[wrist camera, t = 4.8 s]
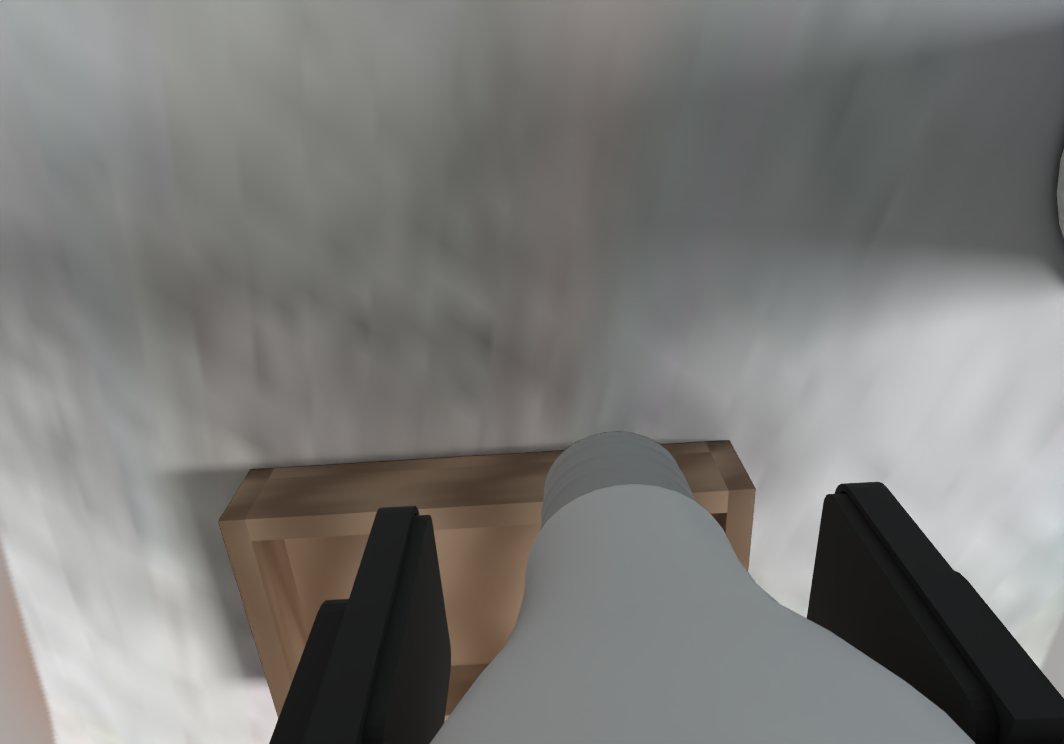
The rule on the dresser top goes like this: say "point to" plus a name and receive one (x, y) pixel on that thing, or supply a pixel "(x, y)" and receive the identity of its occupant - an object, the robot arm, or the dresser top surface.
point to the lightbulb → (668, 632)
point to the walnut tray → (460, 534)
